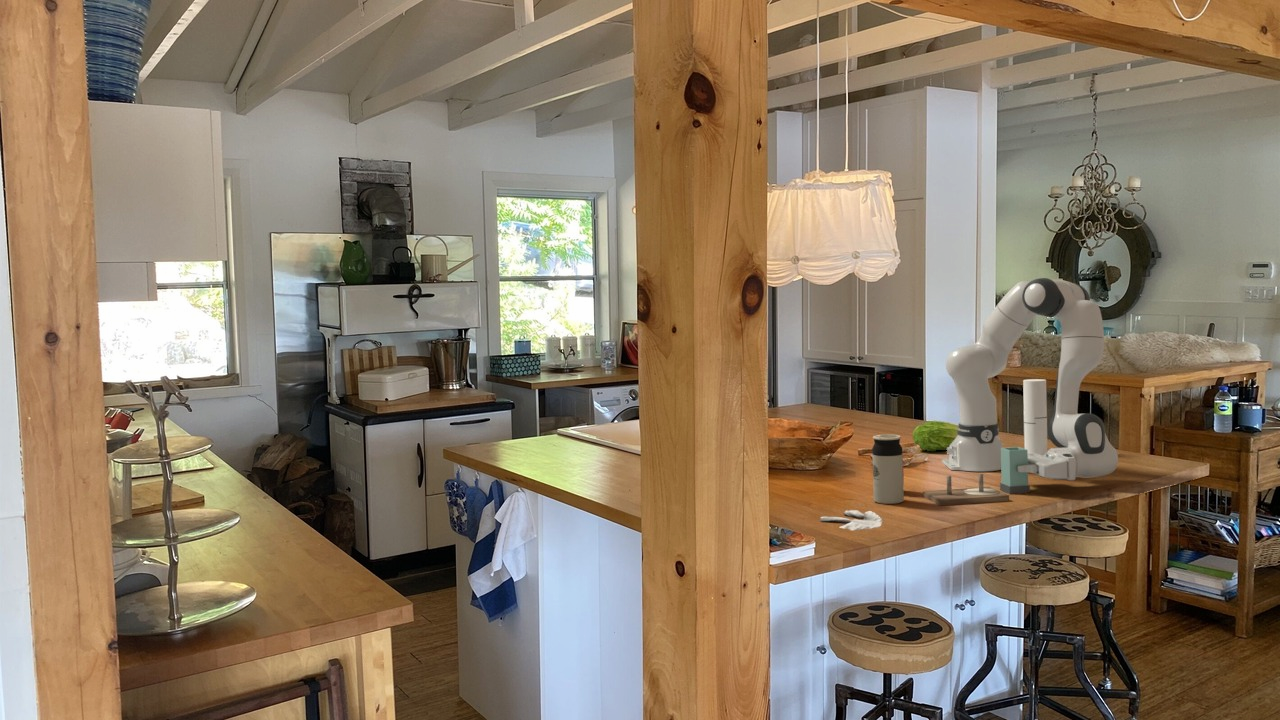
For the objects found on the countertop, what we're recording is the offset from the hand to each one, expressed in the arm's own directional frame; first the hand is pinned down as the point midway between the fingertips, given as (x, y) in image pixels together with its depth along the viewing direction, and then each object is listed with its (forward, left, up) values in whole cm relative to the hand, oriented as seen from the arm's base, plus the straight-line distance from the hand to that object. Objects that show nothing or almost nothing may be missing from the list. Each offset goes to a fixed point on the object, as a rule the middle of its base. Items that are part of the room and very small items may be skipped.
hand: (1011, 466), depth 275 cm
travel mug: (+2, -36, -7) cm, 37 cm away
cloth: (+19, -52, -8) cm, 56 cm away
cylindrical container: (-54, +35, -7) cm, 65 cm away
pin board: (+5, -16, -7) cm, 18 cm away
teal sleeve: (0, +1, -7) cm, 7 cm away
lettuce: (-73, +12, -7) cm, 74 cm away
